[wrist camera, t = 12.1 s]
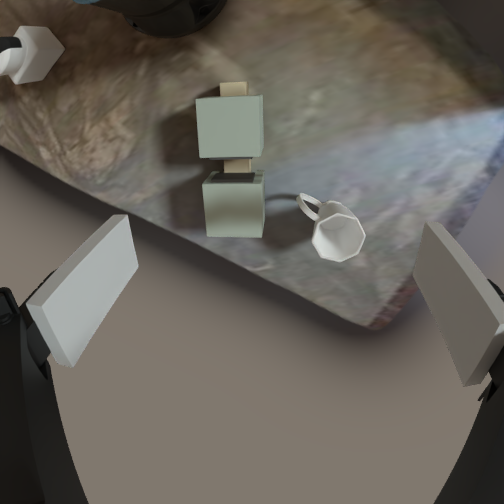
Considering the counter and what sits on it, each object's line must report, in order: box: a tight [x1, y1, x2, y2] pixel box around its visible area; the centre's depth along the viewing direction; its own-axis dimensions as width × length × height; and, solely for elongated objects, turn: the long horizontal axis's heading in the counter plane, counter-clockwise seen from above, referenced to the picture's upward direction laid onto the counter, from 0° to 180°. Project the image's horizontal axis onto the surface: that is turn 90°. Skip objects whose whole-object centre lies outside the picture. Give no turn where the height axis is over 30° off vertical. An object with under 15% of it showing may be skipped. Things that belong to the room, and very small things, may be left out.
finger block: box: [196, 95, 264, 160], centre depth 36 cm, size 7×7×6 cm
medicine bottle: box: [0, 26, 65, 85], centre depth 30 cm, size 7×7×12 cm
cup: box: [296, 193, 366, 262], centre depth 42 cm, size 7×10×8 cm
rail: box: [202, 82, 265, 238], centre depth 39 cm, size 19×7×8 cm, turn 1°
